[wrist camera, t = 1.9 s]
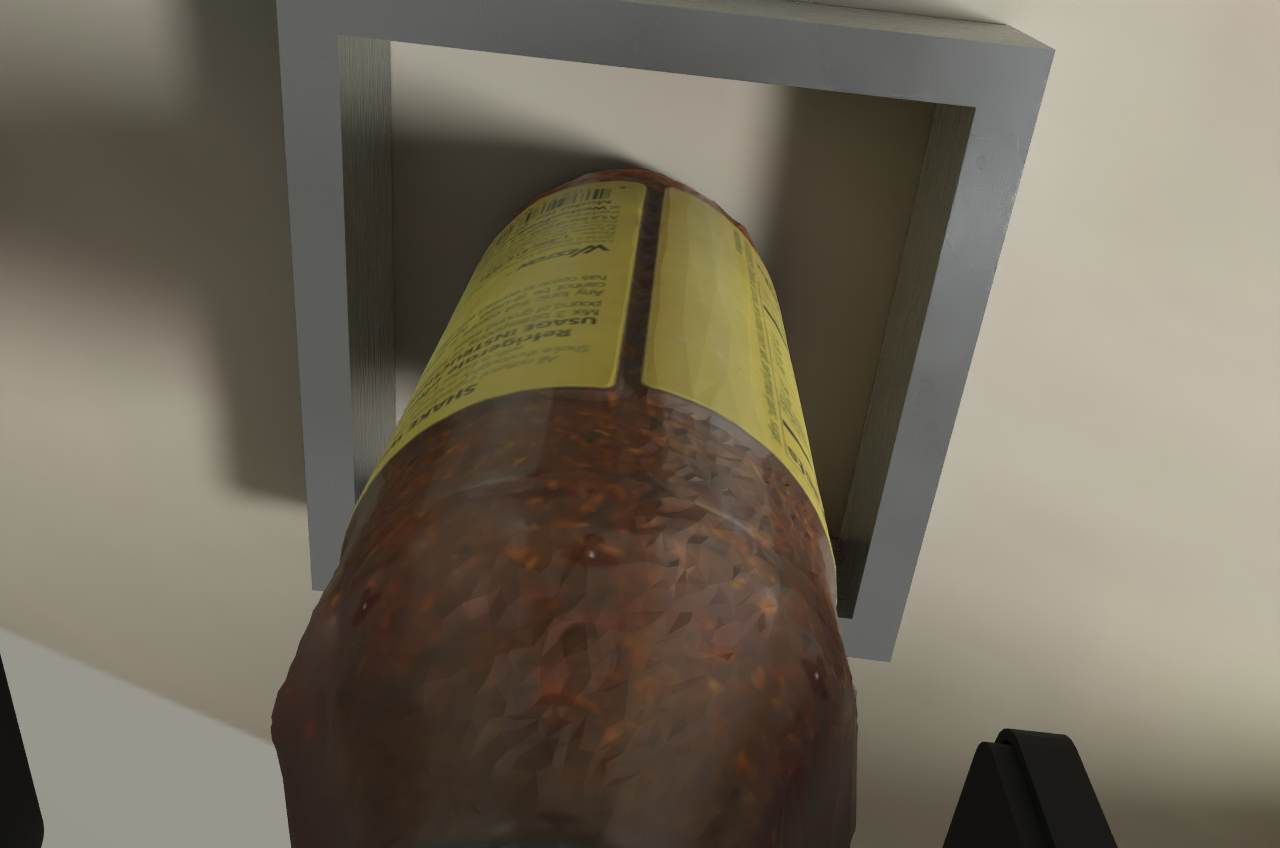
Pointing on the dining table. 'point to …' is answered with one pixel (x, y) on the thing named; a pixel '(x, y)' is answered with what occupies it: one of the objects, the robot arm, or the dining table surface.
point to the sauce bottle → (586, 564)
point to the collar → (686, 44)
